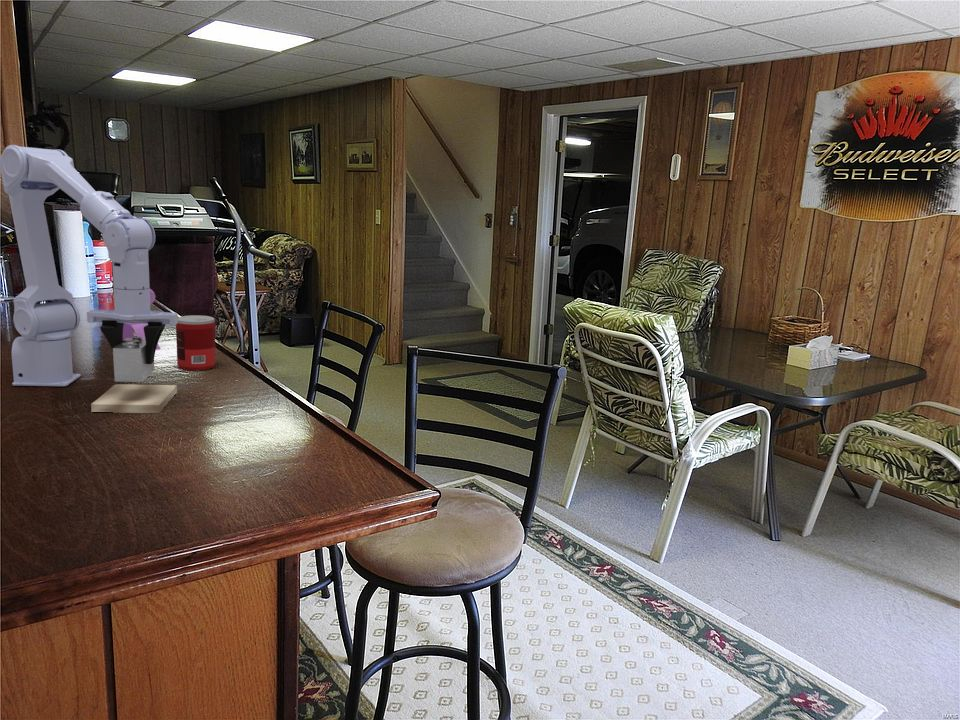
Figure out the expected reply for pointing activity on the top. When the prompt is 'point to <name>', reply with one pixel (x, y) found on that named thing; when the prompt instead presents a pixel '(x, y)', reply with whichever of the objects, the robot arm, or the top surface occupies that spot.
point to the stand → (134, 398)
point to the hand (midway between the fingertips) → (135, 362)
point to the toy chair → (137, 325)
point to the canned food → (195, 342)
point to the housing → (131, 361)
